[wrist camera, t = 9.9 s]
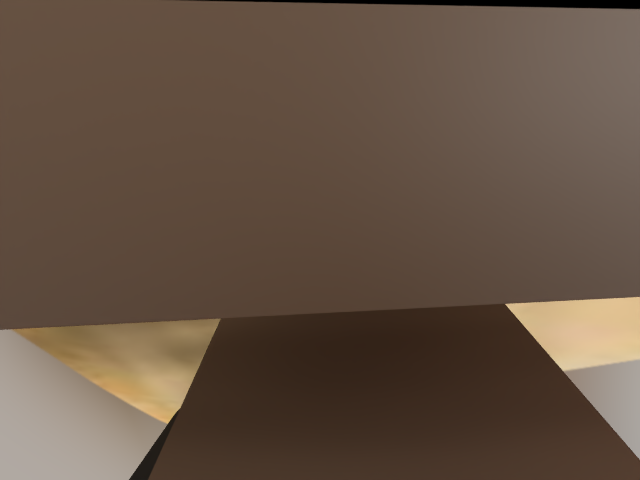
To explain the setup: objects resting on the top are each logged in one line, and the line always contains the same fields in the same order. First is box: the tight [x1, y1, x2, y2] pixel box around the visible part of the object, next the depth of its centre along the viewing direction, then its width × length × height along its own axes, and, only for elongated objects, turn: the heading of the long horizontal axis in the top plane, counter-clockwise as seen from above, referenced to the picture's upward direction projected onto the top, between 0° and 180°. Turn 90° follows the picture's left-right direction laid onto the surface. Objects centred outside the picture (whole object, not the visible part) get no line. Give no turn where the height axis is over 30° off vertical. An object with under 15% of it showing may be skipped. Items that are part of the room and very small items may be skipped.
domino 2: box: [148, 304, 640, 480], centre depth 7 cm, size 2×5×10 cm, turn 95°
